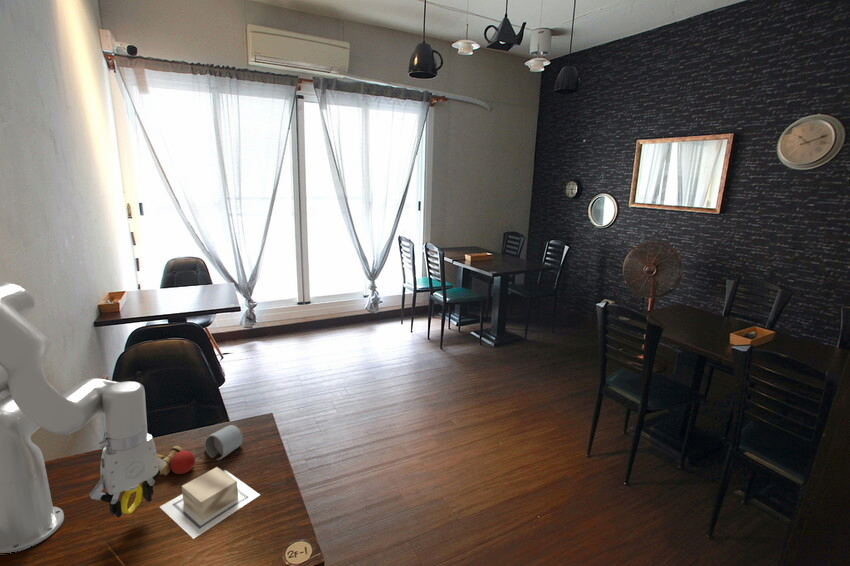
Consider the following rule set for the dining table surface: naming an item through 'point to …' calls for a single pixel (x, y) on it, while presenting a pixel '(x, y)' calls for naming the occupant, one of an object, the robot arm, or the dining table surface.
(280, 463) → the dining table surface
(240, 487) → the mat
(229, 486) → the birch block
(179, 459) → the kendama
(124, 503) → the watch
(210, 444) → the grey hollow cylinder
